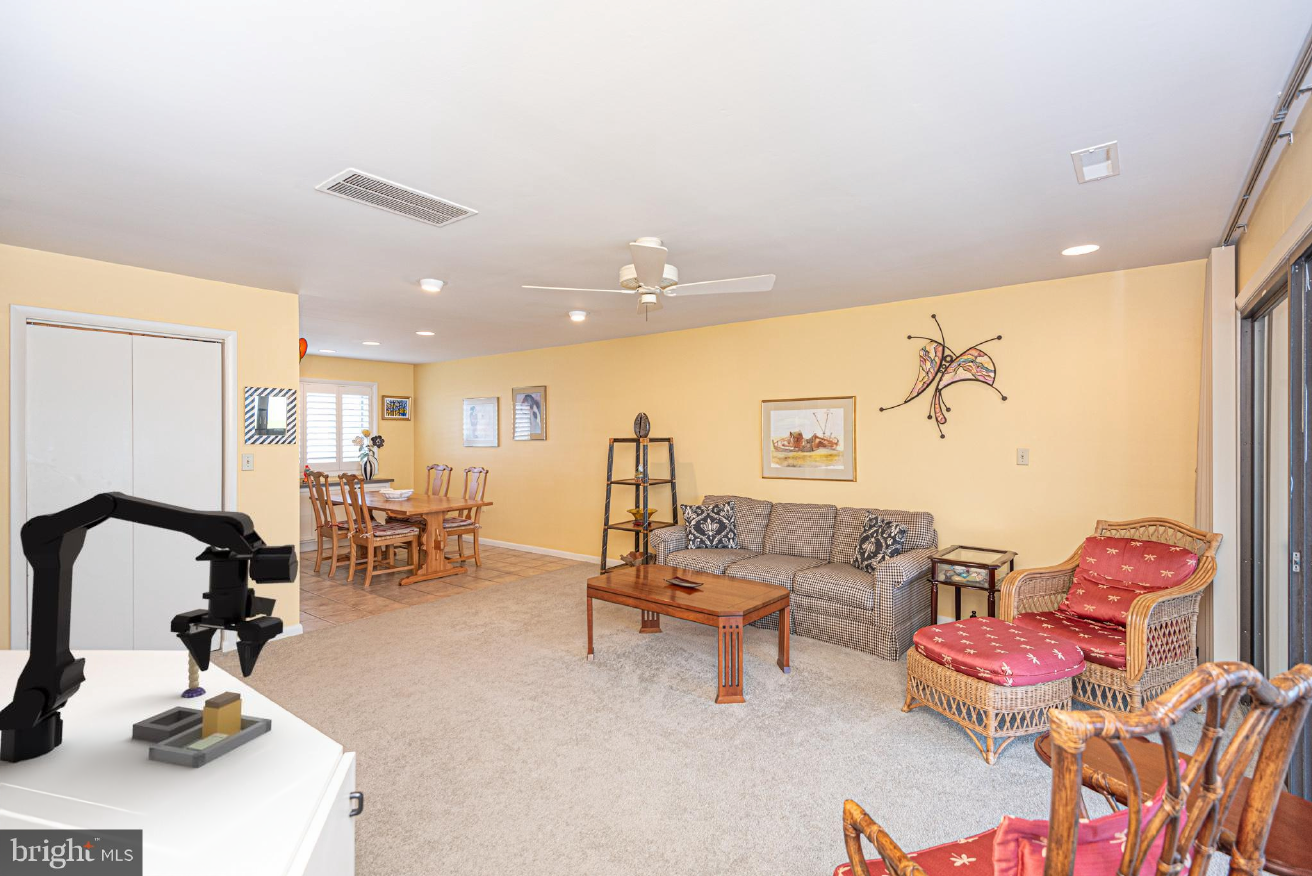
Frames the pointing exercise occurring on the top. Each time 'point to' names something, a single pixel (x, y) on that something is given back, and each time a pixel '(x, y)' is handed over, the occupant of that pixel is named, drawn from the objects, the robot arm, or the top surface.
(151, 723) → the fuse holder
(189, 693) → the toy lamp
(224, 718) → the block
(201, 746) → the block
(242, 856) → the top surface
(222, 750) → the parts tray
